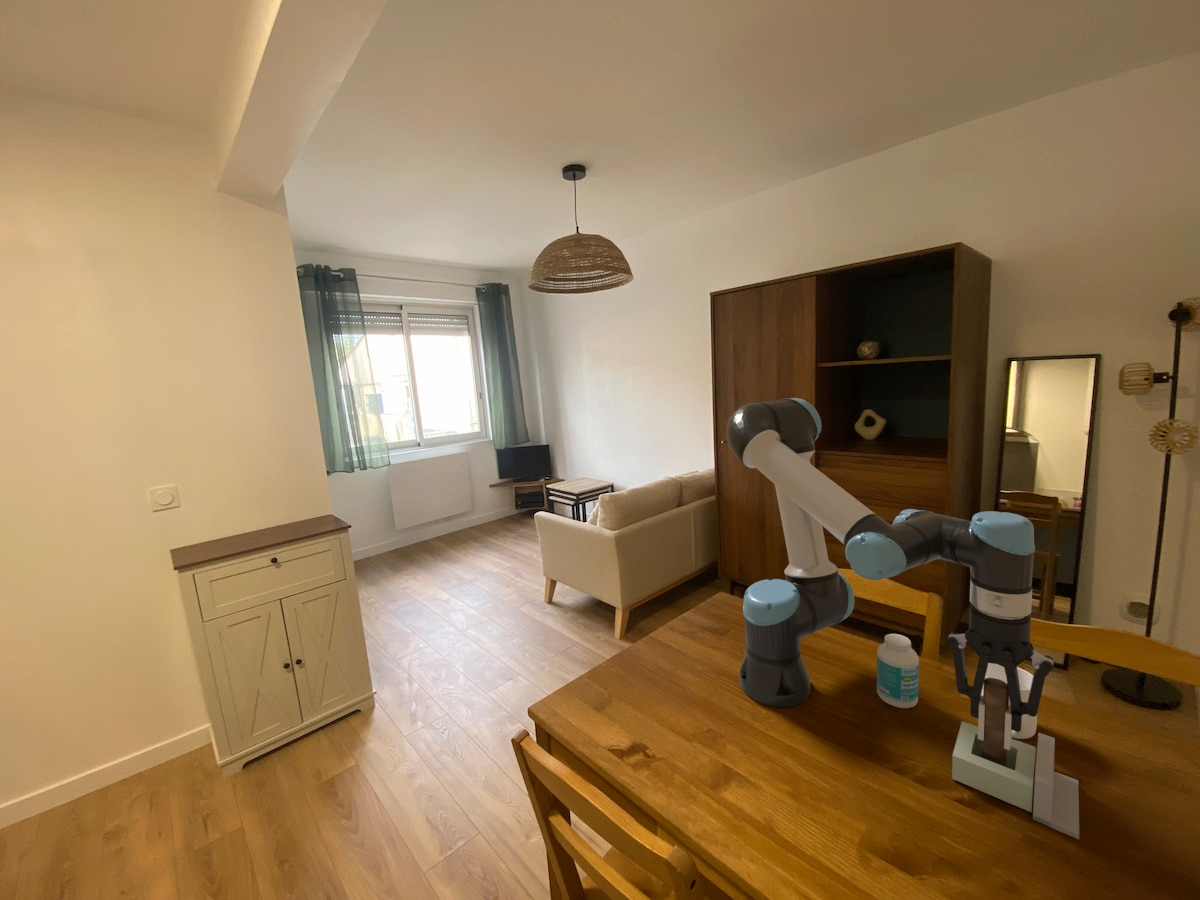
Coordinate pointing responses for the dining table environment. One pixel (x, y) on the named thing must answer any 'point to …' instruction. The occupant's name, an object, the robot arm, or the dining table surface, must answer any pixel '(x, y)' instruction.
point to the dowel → (995, 720)
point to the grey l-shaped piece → (1054, 792)
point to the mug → (1025, 685)
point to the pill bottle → (897, 672)
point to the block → (995, 769)
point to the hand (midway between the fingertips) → (994, 739)
